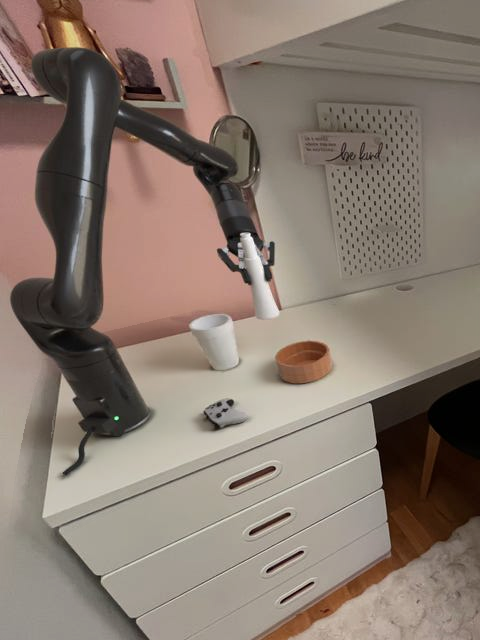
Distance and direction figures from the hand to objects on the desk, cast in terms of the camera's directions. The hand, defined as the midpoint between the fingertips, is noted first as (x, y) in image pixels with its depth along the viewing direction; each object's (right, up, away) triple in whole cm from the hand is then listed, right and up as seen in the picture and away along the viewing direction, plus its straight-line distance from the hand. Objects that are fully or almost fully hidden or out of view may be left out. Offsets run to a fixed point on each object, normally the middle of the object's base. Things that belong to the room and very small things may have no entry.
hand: (259, 281), depth 102 cm
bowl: (+9, -23, +6) cm, 26 cm away
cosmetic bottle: (-2, -8, +7) cm, 11 cm away
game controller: (-2, -33, -11) cm, 35 cm away
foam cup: (-14, -21, +8) cm, 26 cm away
